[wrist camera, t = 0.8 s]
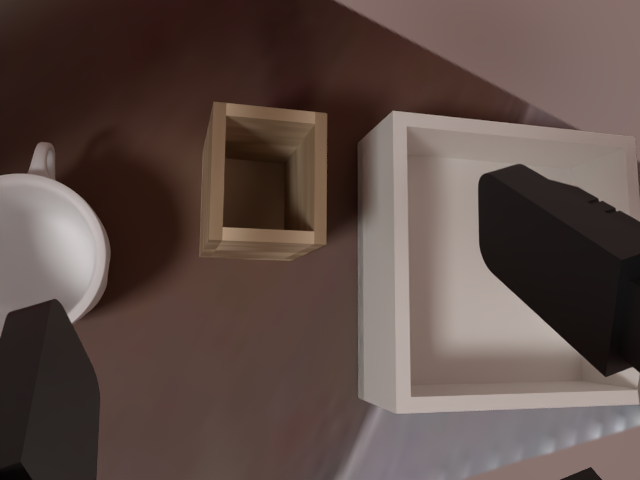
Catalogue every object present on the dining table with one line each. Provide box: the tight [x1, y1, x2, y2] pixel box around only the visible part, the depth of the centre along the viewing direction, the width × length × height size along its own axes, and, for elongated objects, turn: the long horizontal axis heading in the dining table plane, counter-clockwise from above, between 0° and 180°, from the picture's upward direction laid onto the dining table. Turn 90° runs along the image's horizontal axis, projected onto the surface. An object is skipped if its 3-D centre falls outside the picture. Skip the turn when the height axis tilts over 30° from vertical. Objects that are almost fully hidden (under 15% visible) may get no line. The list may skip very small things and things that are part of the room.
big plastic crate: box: [358, 111, 640, 414], centre depth 35 cm, size 16×16×6 cm
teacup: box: [0, 142, 111, 336], centre depth 29 cm, size 10×8×5 cm
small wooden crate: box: [199, 102, 327, 260], centre depth 31 cm, size 6×6×8 cm
